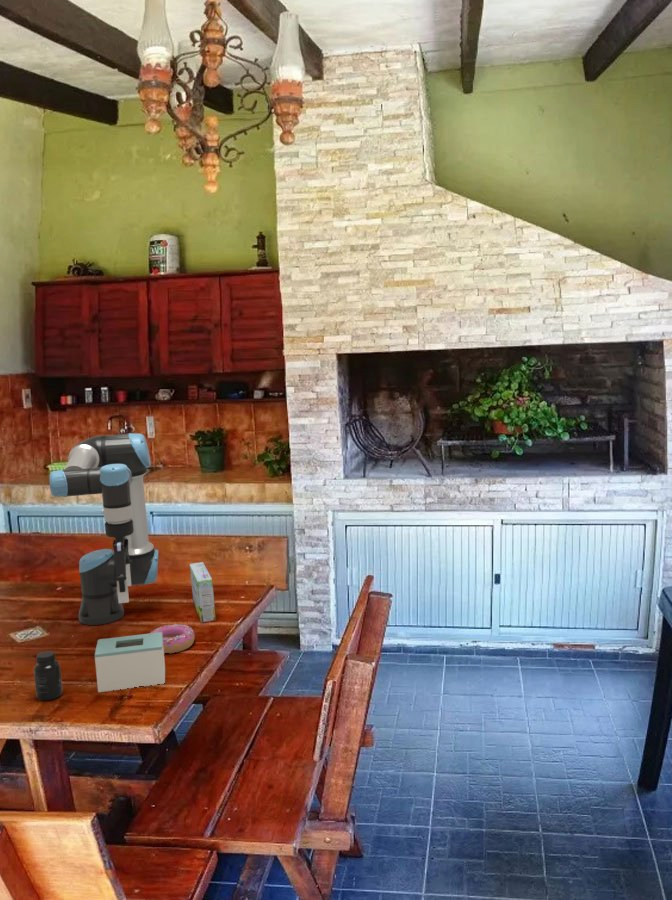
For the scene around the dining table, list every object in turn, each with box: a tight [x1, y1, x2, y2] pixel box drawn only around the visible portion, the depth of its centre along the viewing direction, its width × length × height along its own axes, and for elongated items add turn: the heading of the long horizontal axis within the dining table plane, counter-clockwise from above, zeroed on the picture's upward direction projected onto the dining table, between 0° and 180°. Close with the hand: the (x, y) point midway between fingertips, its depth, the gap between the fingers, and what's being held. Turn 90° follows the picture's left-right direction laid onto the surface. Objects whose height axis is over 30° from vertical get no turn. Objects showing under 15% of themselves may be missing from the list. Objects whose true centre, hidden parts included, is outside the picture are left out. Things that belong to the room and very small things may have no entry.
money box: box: [94, 632, 166, 693], centre depth 221 cm, size 11×18×11 cm, turn 102°
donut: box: [150, 623, 196, 655], centre depth 245 cm, size 14×14×5 cm
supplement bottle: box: [33, 650, 64, 702], centre depth 213 cm, size 7×7×12 cm
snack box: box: [189, 561, 217, 624], centre depth 272 cm, size 21×6×15 cm, turn 18°
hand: (125, 594), depth 218 cm, fingers open, 13 cm apart
